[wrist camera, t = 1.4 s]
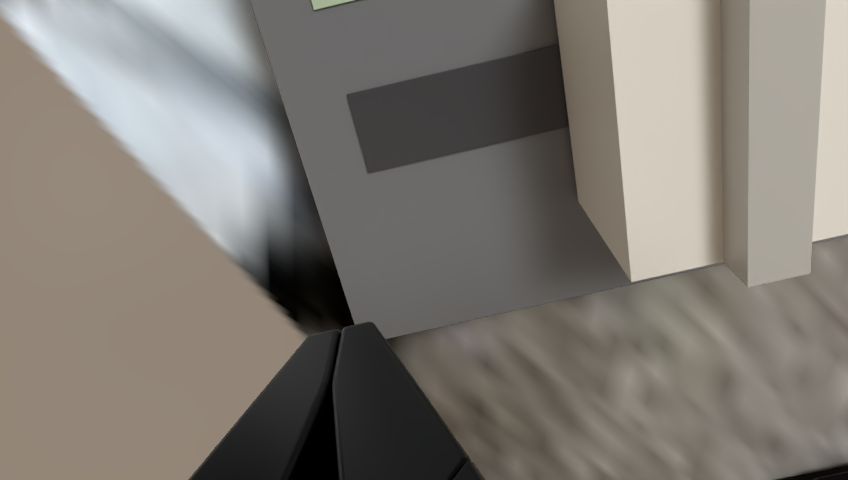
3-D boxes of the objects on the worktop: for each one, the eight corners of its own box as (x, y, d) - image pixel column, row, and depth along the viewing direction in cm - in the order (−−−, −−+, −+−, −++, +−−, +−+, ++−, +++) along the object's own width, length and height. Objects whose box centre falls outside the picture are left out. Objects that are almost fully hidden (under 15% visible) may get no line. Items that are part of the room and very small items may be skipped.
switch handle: (772, 157, 17) (910, 251, 13) (578, 201, 18) (649, 309, 13) (779, -102, 15) (957, -94, 10) (547, -46, 15) (625, -15, 10)
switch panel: (924, 161, 21) (1006, 203, 19) (361, 288, 22) (361, 346, 19) (990, -315, 16) (1120, -356, 13) (233, -127, 16) (207, -128, 14)
